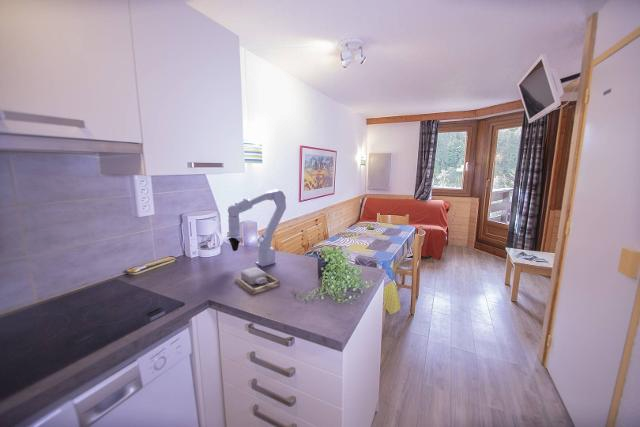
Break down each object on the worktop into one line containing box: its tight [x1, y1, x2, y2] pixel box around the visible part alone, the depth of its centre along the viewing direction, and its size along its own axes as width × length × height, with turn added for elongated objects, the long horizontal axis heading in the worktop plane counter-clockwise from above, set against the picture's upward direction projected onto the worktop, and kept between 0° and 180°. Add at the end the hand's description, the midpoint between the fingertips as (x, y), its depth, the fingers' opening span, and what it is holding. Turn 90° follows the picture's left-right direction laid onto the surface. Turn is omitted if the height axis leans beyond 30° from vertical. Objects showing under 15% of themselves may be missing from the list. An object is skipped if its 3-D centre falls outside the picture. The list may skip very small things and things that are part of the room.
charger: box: [240, 266, 268, 286], centre depth 128 cm, size 5×9×15 cm
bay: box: [234, 272, 281, 295], centre depth 127 cm, size 14×18×2 cm
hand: (235, 250), depth 145 cm, fingers closed
